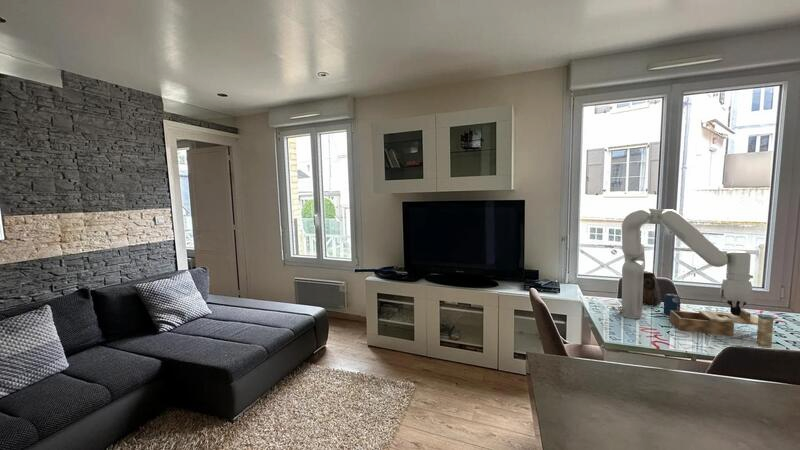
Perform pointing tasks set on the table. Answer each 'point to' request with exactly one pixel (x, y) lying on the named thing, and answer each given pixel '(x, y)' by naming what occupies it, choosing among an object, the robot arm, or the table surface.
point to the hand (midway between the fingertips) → (735, 314)
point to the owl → (651, 289)
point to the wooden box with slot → (700, 323)
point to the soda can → (671, 303)
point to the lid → (731, 317)
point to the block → (765, 330)
